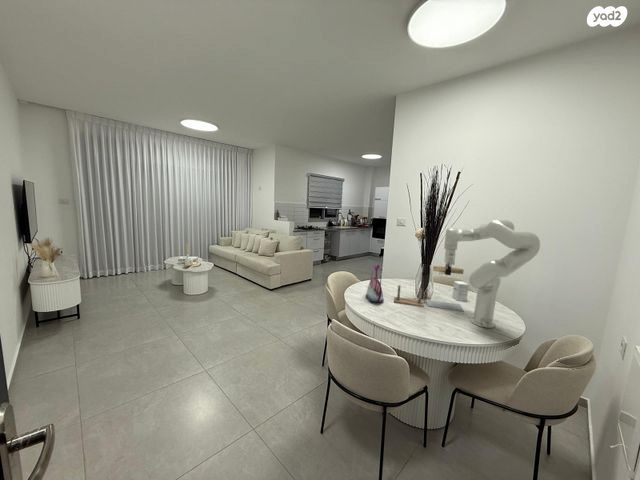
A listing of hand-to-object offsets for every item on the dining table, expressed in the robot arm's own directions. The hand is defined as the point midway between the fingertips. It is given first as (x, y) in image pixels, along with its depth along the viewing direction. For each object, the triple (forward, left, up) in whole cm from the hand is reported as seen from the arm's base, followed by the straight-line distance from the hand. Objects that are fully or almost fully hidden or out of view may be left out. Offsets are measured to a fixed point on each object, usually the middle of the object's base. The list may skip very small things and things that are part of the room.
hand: (447, 273), depth 179 cm
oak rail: (0, 0, +1) cm, 1 cm away
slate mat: (0, 0, -22) cm, 22 cm away
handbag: (-7, +46, -23) cm, 52 cm away
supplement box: (+19, -13, -23) cm, 32 cm away
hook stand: (-3, +23, -22) cm, 32 cm away
